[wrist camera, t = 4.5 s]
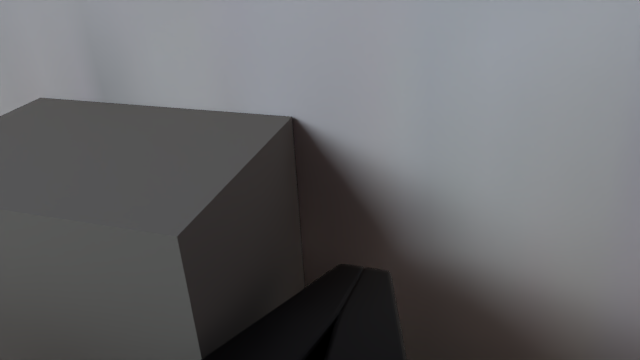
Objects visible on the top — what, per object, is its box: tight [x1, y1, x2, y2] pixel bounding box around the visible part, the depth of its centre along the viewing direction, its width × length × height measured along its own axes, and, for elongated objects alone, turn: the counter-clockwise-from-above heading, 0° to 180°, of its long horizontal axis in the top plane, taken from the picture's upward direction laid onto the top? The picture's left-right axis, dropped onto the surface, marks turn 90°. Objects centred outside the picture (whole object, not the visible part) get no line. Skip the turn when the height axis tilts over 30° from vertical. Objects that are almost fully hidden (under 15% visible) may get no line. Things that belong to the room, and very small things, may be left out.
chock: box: [0, 98, 305, 360], centre depth 9 cm, size 4×5×4 cm
